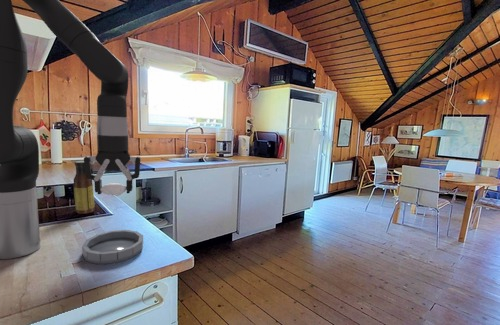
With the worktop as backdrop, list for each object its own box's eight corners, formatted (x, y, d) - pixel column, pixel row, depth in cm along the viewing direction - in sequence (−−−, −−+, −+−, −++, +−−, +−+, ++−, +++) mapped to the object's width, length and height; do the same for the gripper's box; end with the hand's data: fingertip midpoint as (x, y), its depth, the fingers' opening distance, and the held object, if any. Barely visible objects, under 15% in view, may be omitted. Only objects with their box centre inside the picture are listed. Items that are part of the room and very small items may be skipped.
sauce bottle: (91, 208, 105) (89, 159, 102) (97, 212, 101) (95, 161, 98) (72, 211, 100) (69, 160, 97) (78, 216, 96) (75, 163, 93)
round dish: (75, 267, 63) (75, 256, 63) (91, 241, 77) (91, 232, 76) (140, 260, 68) (140, 250, 67) (144, 236, 81) (144, 228, 81)
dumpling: (104, 200, 69) (103, 185, 68) (98, 195, 72) (97, 181, 72) (131, 195, 74) (131, 182, 73) (124, 191, 77) (124, 178, 77)
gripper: (78, 133, 64) (81, 198, 67) (140, 135, 69) (141, 195, 72) (85, 132, 71) (88, 190, 74) (142, 134, 76) (142, 189, 79)
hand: (114, 193), depth 73 cm, fingers closed on dumpling, 6 cm apart
